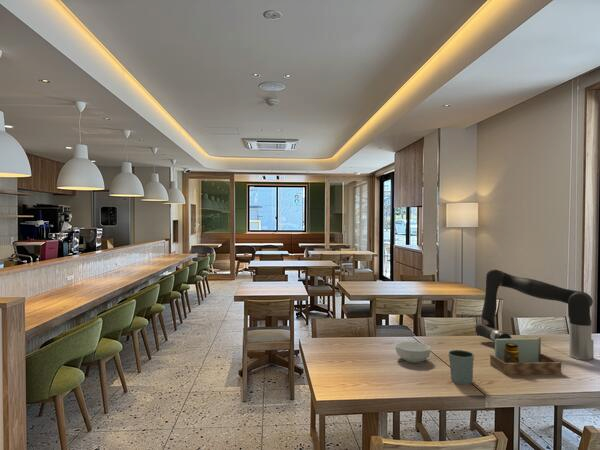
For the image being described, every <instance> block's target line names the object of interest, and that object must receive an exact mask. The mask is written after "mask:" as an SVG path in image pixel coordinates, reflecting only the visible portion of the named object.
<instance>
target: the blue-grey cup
mask: <svg viewBox="0 0 600 450" xmlns="http://www.w3.org/2000/svg"><path fill="white" fill-rule="evenodd" d="M474 357H475V354H474V353H473V352H471V351H468V350H462V349H452V350H450V351H449V352H448V358H449V367H450V370H449V371H450V379H451V382H453V383H454V384H457V383H458V385H462V384H464V385H463V386H465V385H467V384H469V385H472V384H473V381H474V380H473V378H474V376H473V375H474V369H473V368H474V359H475V358H474ZM471 383H472V384H471ZM467 386H468V385H467Z"/></svg>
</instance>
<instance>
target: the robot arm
mask: <svg viewBox="0 0 600 450" xmlns="http://www.w3.org/2000/svg"><path fill="white" fill-rule="evenodd" d="M485 276H486V277H485V293H484V294H485V295H484V301H483V306H482V310H481V316H480V317H481V319H482V320H485V321H486V323H487V324H485V323H477V324H476V326H475V327H474V328H475V329H474V331H475V334H477V335H478V336H479V337H481V338H482V337H483V338H486V339H487V340H489V341H491V342H493V343H494V344H495V339H513V338H512V336H511V335H510V334H509V333H507V332H504V331H502V330H499V329H497V328H496V321H495V318H496V313H497V304H498V303H497V302H498V301H497V298H498V297H497V296H498V290H499V287H504V288H509V289H512V290H515V291H517V292H520V293H521V294H524V295H527V296H530V297H534V298H537V299H542V300H548V301H557V302H561V303H563V304H567V311H568V312H567V313H568V318H569V357H570V358H573V359H577V360H581V361H590V360H594V353H595V352H594V351H595V350H594V340H593V339H592V319H591V307H592V305H593V301H594V300H593V298H592V297H591V295H590V294H588V293H587V292H584V291H578V290H572V289H567V288H563V287H559V286H557V285H554V284H551V283H547V282H545V281H541V280H537V279H533V278H528V277H520V276H519V277H518V276H515V275H512V274H509V273H507V272H504V271H502V270H499V269H490V270H489V271H487V273H486V275H485Z"/></svg>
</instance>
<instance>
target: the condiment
mask: <svg viewBox="0 0 600 450" xmlns="http://www.w3.org/2000/svg"><path fill="white" fill-rule="evenodd" d="M504 362H505V363H519V351H518V345H517V344H515V343H506V344H505V349H504Z"/></svg>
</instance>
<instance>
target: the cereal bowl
mask: <svg viewBox="0 0 600 450" xmlns="http://www.w3.org/2000/svg"><path fill="white" fill-rule="evenodd" d="M431 351H432V350H431V347H430V345H429V344H428V345H427V344H425V343H421V342H415V341H414V342H413V341H403V342H398V343H396V344H395V352H396V355H397V356H398V357H399V358H401V359H403V360H405V361H406V362H409V363H414V364H416V363H421V362H422V361H426V360H427V359H428V358H429V357H430V355H431Z"/></svg>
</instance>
